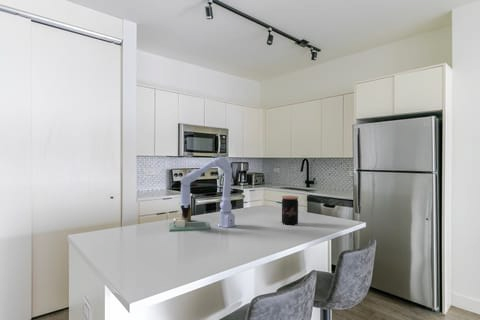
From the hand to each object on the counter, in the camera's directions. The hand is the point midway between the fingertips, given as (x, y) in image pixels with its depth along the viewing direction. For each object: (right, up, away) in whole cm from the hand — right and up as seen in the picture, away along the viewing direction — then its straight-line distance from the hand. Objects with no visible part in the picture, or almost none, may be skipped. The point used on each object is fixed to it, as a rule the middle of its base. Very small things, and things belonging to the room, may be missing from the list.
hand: (185, 217), depth 174 cm
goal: (-4, -5, -1) cm, 6 cm away
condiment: (-2, -6, +17) cm, 18 cm away
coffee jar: (+67, -7, +12) cm, 69 cm away
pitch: (+2, -6, +1) cm, 7 cm away
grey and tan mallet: (0, -5, 0) cm, 5 cm away
